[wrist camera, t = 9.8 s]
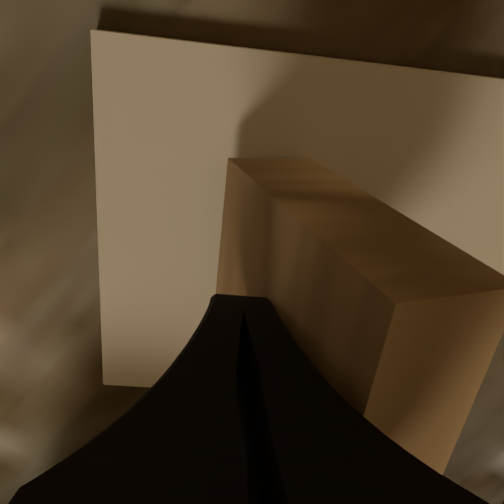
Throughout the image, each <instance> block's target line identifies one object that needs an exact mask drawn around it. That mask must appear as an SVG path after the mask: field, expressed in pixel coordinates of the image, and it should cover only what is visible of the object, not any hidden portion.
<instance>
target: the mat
mask: <svg viewBox="0 0 504 504" xmlns="http://www.w3.org/2000/svg"><path fill="white" fill-rule="evenodd" d="M91 58H92V86H93V114H94V142H95V170H96V198H97V226H98V254H99V282H100V310H101V338H102V366H103V385H117V386H134V387H152V386H153V385H154V384H155V383H156V382H157V381H158V380H159V378H160V377H161V376H162V375H163V374H164V373H165V372H166V370H167V369H168V368H169V367H170V366H171V364H172V363H173V362H174V360H175V359H176V358H177V356H178V355H179V354H180V352H181V351H182V350H183V348H184V347H185V346H186V344H187V343H188V341H189V340H190V338H191V337H192V335H193V333H194V332H195V330H196V329H197V327H198V325H199V324H200V322H201V320H202V318H203V316H204V314H205V312H206V310H207V308H208V305H209V303H210V298H211V297H212V296H213V295H215V294H216V283H217V272H218V261H219V250H220V239H221V228H222V217H223V206H224V195H225V184H226V173H227V163H228V158H311V159H312V160H314V161H316V162H317V163H319V164H321V165H322V166H324V167H326V168H327V169H329V170H331V171H332V172H334V173H336V174H337V175H339V176H340V177H342V178H344V179H345V180H347V181H349V182H350V183H352V184H354V185H355V186H357V187H359V188H360V189H362V190H364V191H365V192H367V193H369V194H370V195H372V196H374V197H375V198H377V199H379V200H380V201H382V202H383V203H385V204H387V205H388V206H390V207H392V208H393V209H395V210H397V211H398V212H400V213H402V214H403V215H405V216H407V217H408V218H410V219H412V220H413V221H415V222H417V223H418V224H420V225H422V226H423V227H425V228H426V229H428V230H430V231H431V232H433V233H435V234H436V235H438V236H440V237H441V238H443V239H445V240H446V241H448V242H450V243H451V244H453V245H455V246H456V247H458V248H460V249H461V250H463V251H465V252H466V253H468V254H469V255H471V256H473V257H474V258H476V259H478V260H479V261H481V262H483V263H484V264H486V265H488V266H489V267H491V268H493V269H494V270H496V271H498V272H499V273H501V274H503V275H504V78H496V77H488V76H480V75H472V74H463V73H455V72H447V71H438V70H430V69H422V68H414V67H405V66H397V65H389V64H380V63H372V62H364V61H356V60H347V59H339V58H331V57H322V56H314V55H306V54H298V53H289V52H281V51H273V50H265V49H256V48H248V47H240V46H231V45H223V44H215V43H207V42H198V41H190V40H182V39H173V38H165V37H157V36H149V35H140V34H132V33H124V32H115V31H107V30H99V29H93V30H91Z"/></svg>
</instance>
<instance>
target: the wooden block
mask: <svg viewBox="0 0 504 504" xmlns="http://www.w3.org/2000/svg"><path fill="white" fill-rule="evenodd" d="M216 294H227V295H240V296H253V297H266V298H268V300H269V301H270V302H271V304H272V305H273V307H274V309H275V311H276V312H277V314H278V316H279V317H280V319H281V321H282V322H283V324H284V325H285V327H286V328H287V330H288V331H289V333H290V334H291V336H292V337H293V339H294V340H295V341H296V343H297V344H298V345H299V347H300V348H301V350H302V351H303V352H304V354H305V355H306V356H307V358H308V359H309V360H310V361H311V363H312V364H313V365H314V366H315V368H316V369H317V370H318V371H319V372H320V374H321V375H322V376H323V377H324V378H325V379H326V380H327V382H328V383H329V384H330V385H331V386H332V387H333V388H334V389H335V390H336V391H337V392H338V393H339V394H340V395H341V396H342V397H343V398H344V399H345V400H346V401H347V402H348V403H349V404H350V405H351V406H352V407H353V408H355V409H356V410H357V411H358V412H359V413H360V414H361V415H362V416H363V417H365V418H366V419H367V420H368V421H369V422H371V423H372V424H373V425H374V426H375V427H377V428H378V429H379V430H380V431H381V432H383V433H384V434H385V435H386V436H388V437H389V438H390V439H392V440H393V441H394V442H396V443H397V444H398V445H399V446H401V447H402V448H403V449H405V450H406V451H408V452H409V453H410V454H412V455H413V456H415V457H416V458H418V459H419V460H421V461H422V462H423V463H425V464H426V465H428V466H429V467H431V468H432V469H434V470H435V471H437V472H438V473H440V474H441V475H443V473H444V470H445V468H446V466H447V463H448V461H449V459H450V456H451V454H452V452H453V449H454V447H455V445H456V442H457V440H458V437H459V435H460V433H461V430H462V428H463V426H464V423H465V421H466V419H467V416H468V414H469V412H470V409H471V407H472V405H473V402H474V400H475V397H476V395H477V393H478V390H479V388H480V386H481V383H482V381H483V379H484V376H485V374H486V372H487V369H488V367H489V364H490V362H491V360H492V357H493V355H494V353H495V350H496V348H497V346H498V343H499V341H500V339H501V336H502V334H503V331H504V275H503V274H501V273H499V272H498V271H496V270H494V269H493V268H491V267H489V266H488V265H486V264H484V263H483V262H481V261H479V260H478V259H476V258H474V257H473V256H471V255H469V254H468V253H466V252H465V251H463V250H461V249H460V248H458V247H456V246H455V245H453V244H451V243H450V242H448V241H446V240H445V239H443V238H441V237H440V236H438V235H436V234H435V233H433V232H431V231H430V230H428V229H426V228H425V227H423V226H422V225H420V224H418V223H417V222H415V221H413V220H412V219H410V218H408V217H407V216H405V215H403V214H402V213H400V212H398V211H397V210H395V209H393V208H392V207H390V206H388V205H387V204H385V203H383V202H382V201H380V200H379V199H377V198H375V197H374V196H372V195H370V194H369V193H367V192H365V191H364V190H362V189H360V188H359V187H357V186H355V185H354V184H352V183H350V182H349V181H347V180H345V179H344V178H342V177H340V176H339V175H337V174H336V173H334V172H332V171H331V170H329V169H327V168H326V167H324V166H322V165H321V164H319V163H317V162H316V161H314V160H312V159H311V158H228V163H227V173H226V184H225V195H224V206H223V217H222V228H221V239H220V250H219V261H218V272H217V283H216Z"/></svg>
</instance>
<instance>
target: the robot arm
mask: <svg viewBox="0 0 504 504" xmlns="http://www.w3.org/2000/svg"><path fill="white" fill-rule="evenodd" d="M9 504H489V503H488V502H486V501H484V500H483V499H481V498H479V497H478V496H476V495H474V494H473V493H471V492H469V491H468V490H466V489H464V488H463V487H461V486H459V485H458V484H456V483H454V482H453V481H451V480H450V479H448V478H446V477H445V476H443V475H441V474H440V473H438V472H437V471H435V470H434V469H432V468H431V467H429V466H428V465H426V464H425V463H423V462H422V461H421V460H419V459H418V458H416V457H415V456H413V455H412V454H410V453H409V452H408V451H406V450H405V449H403V448H402V447H401V446H399V445H398V444H397V443H396V442H394V441H393V440H392V439H390V438H389V437H388V436H386V435H385V434H384V433H383V432H381V431H380V430H379V429H378V428H377V427H375V426H374V425H373V424H372V423H371V422H369V421H368V420H367V419H366V418H365V417H363V416H362V415H361V414H360V413H359V412H358V411H357V410H356V409H355V408H353V407H352V406H351V405H350V404H349V403H348V402H347V401H346V400H345V399H344V398H343V397H342V396H341V395H340V394H339V393H338V392H337V391H336V390H335V389H334V388H333V387H332V386H331V385H330V384H329V383H328V382H327V380H326V379H325V378H324V377H323V376H322V375H321V374H320V372H319V371H318V370H317V369H316V368H315V366H314V365H313V364H312V363H311V361H310V360H309V359H308V358H307V356H306V355H305V354H304V352H303V351H302V350H301V348H300V347H299V345H298V344H297V343H296V341H295V340H294V339H293V337H292V336H291V334H290V333H289V331H288V330H287V328H286V327H285V325H284V324H283V322H282V321H281V319H280V317H279V316H278V314H277V312H276V311H275V309H274V307H273V305H272V304H271V302H270V301H269V300H268V298H266V297H253V296H240V295H227V294H215V295H213V296H212V297H211V298H210V303H209V305H208V308H207V310H206V312H205V314H204V316H203V318H202V320H201V322H200V324H199V325H198V327H197V329H196V330H195V332H194V333H193V335H192V337H191V338H190V340H189V341H188V343H187V344H186V346H185V347H184V348H183V350H182V351H181V352H180V354H179V355H178V356H177V358H176V359H175V360H174V362H173V363H172V364H171V366H170V367H169V368H168V369H167V370H166V372H165V373H164V374H163V375H162V376H161V377H160V378H159V380H158V381H157V382H156V383H155V384H154V385H153V386H152V387H151V388H150V389H149V390H148V391H147V392H146V393H145V394H144V395H143V396H142V397H141V398H140V399H139V400H138V401H137V402H136V403H135V404H134V405H133V406H132V407H131V408H130V409H129V410H127V411H126V412H125V413H124V414H123V415H122V416H121V417H120V418H118V419H117V420H116V421H115V422H114V423H112V424H111V425H110V426H109V427H107V428H106V429H105V430H103V431H102V432H101V433H100V434H98V435H97V436H96V437H94V438H93V439H92V440H91V441H89V442H88V443H87V444H85V445H84V446H83V447H82V448H80V449H79V450H77V451H76V452H75V453H73V454H72V455H70V456H69V457H67V458H66V459H64V460H63V461H61V462H60V463H58V464H57V465H55V466H53V467H52V468H50V469H49V470H47V471H46V472H44V473H43V474H41V475H40V476H38V477H36V478H35V479H33V480H32V481H30V482H28V483H26V484H25V485H23V486H21V487H20V488H19V489H18V491H17V492H16V493H15V495H14V496H13V498H12V499H11V501H10V502H9Z"/></svg>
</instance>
